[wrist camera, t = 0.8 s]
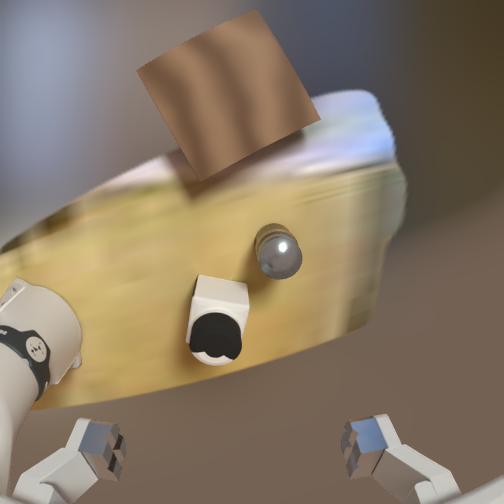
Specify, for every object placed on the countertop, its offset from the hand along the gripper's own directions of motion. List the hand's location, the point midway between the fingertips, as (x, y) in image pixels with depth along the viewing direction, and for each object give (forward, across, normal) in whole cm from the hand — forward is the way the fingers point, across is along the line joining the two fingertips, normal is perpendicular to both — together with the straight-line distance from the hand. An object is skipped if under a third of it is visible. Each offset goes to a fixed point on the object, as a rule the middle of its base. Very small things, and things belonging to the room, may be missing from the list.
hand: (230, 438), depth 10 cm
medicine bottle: (+35, +3, +13) cm, 37 cm away
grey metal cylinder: (+35, -5, +4) cm, 35 cm away
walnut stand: (+35, +1, -15) cm, 38 cm away
